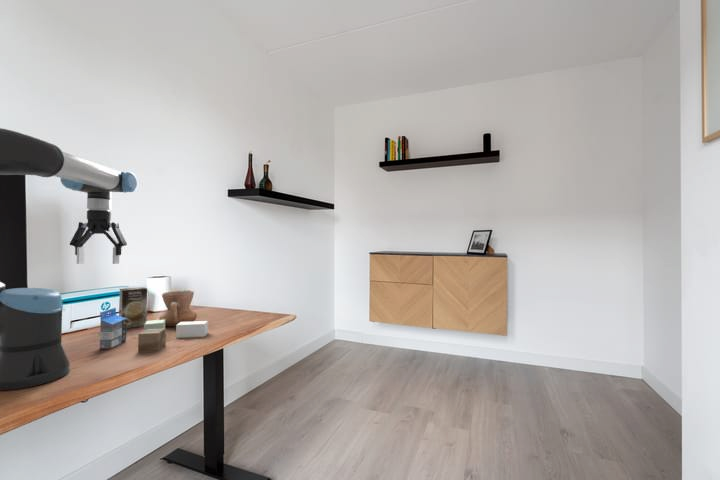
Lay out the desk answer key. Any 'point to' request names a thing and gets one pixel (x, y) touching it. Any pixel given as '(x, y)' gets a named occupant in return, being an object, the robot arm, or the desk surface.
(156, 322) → the sage cube
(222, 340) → the desk surface
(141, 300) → the coffee box
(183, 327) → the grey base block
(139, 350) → the walnut cube
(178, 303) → the ceramic jug
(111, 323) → the label tape cartridge
